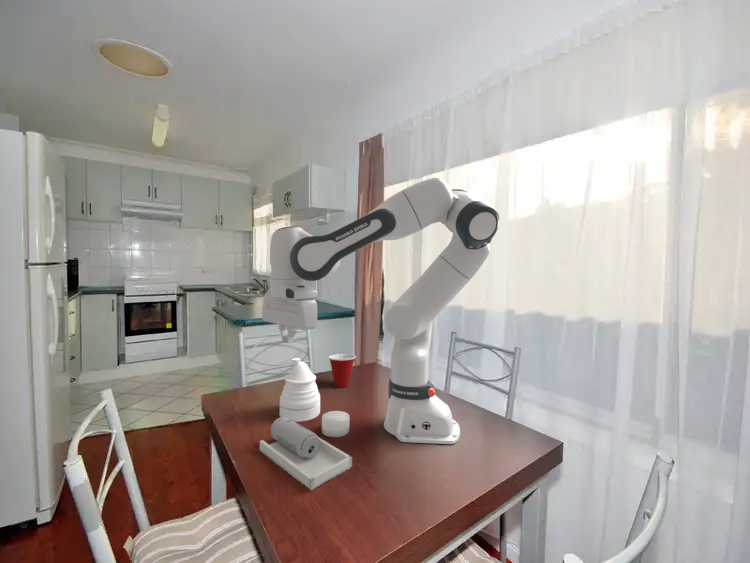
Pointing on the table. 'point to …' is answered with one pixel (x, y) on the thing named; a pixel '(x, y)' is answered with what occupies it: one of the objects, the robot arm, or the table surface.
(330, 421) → the white rounded puck
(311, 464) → the tray
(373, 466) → the table surface
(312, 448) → the energy drink can
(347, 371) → the plastic cup
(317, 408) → the honey pot
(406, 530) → the table surface
